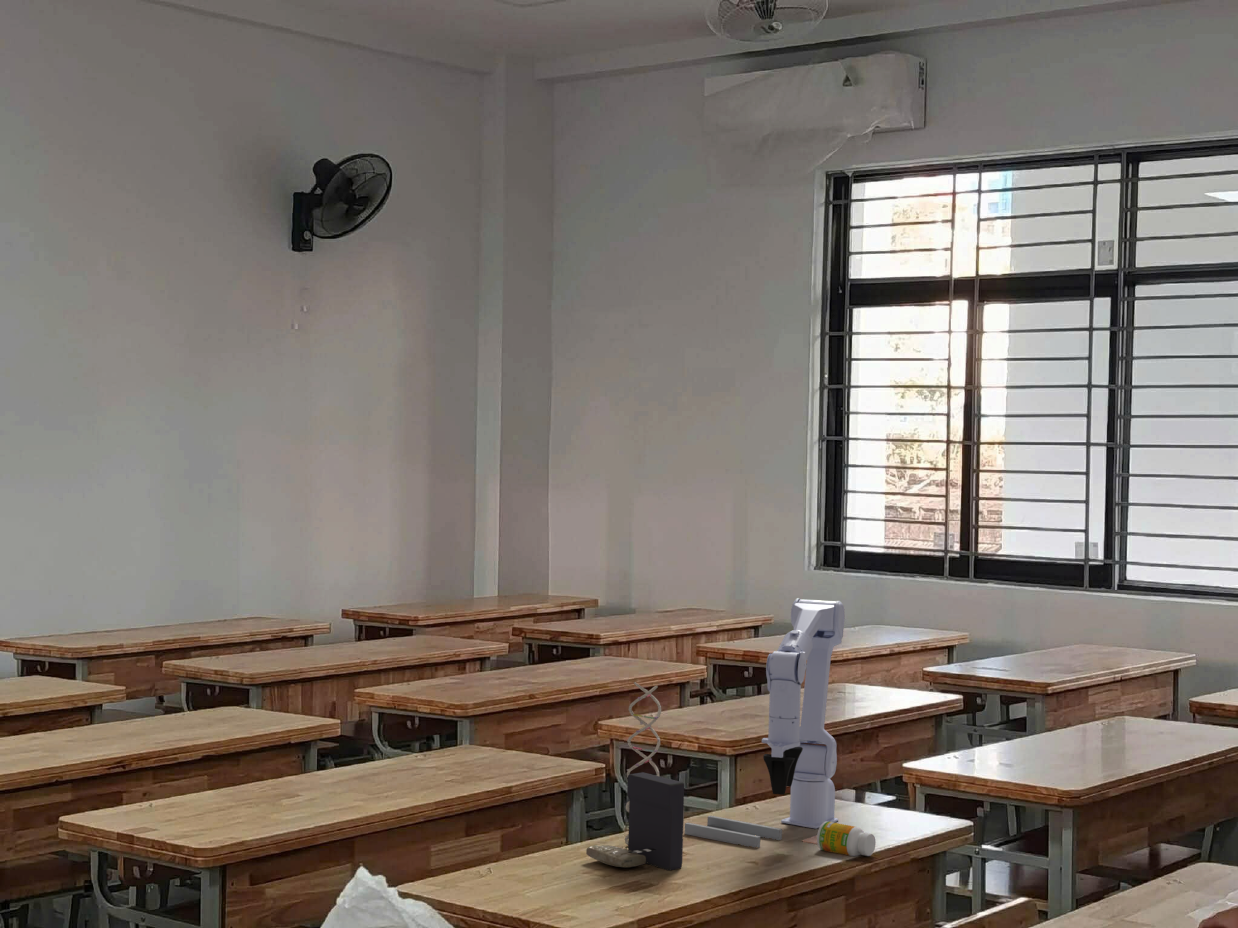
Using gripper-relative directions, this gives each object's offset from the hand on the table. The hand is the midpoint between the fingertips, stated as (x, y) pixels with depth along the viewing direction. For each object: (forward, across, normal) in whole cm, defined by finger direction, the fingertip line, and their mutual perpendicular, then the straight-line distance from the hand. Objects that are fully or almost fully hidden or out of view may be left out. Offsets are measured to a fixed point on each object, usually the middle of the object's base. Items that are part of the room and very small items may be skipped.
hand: (782, 789), depth 287 cm
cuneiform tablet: (+9, +28, -19) cm, 35 cm away
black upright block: (+11, +20, -19) cm, 30 cm away
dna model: (+11, +11, -24) cm, 28 cm away
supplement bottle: (+8, 0, +8) cm, 11 cm away
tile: (+10, -7, +10) cm, 16 cm away
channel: (+10, -4, -10) cm, 15 cm away
